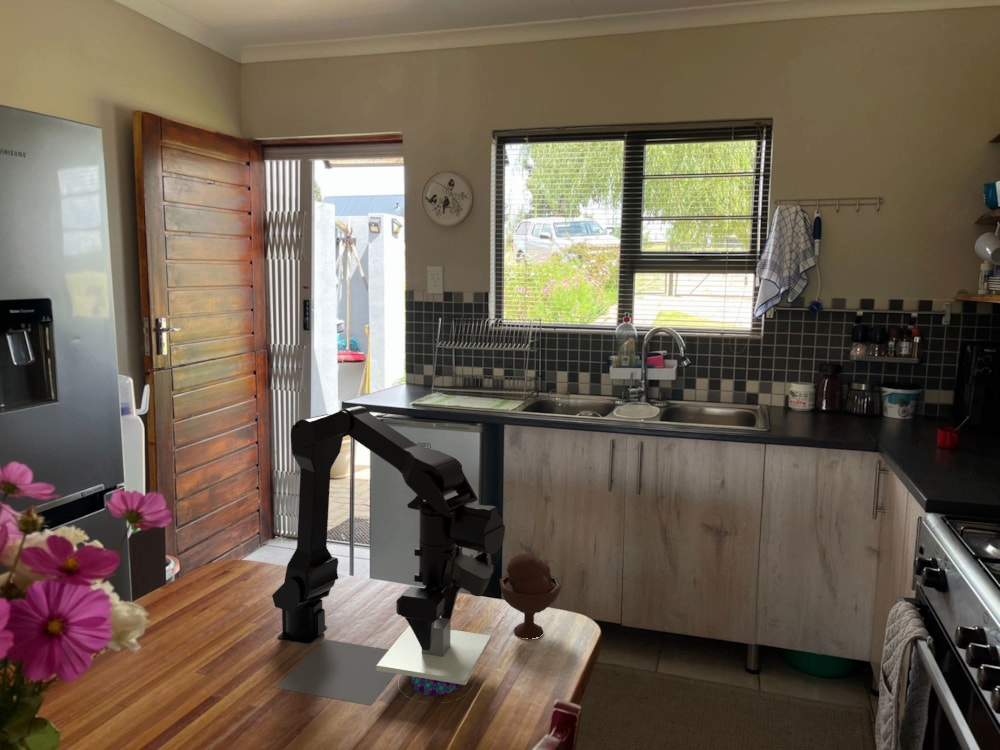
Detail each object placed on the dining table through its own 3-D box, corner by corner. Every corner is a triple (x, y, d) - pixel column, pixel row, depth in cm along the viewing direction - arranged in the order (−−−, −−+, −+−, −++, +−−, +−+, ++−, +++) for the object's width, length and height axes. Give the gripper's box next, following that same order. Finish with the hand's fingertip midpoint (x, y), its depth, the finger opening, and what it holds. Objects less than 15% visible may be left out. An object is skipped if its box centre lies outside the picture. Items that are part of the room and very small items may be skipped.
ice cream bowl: (555, 650, 130) (558, 567, 128) (492, 642, 132) (493, 560, 130) (563, 622, 140) (565, 545, 138) (504, 616, 142) (505, 539, 140)
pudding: (489, 681, 120) (489, 650, 120) (443, 717, 110) (444, 684, 110) (429, 659, 127) (429, 629, 126) (381, 691, 117) (381, 659, 116)
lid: (376, 670, 113) (376, 637, 112) (410, 628, 126) (410, 598, 126) (465, 685, 109) (466, 650, 109) (491, 640, 123) (491, 609, 122)
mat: (275, 690, 116) (275, 687, 116) (325, 641, 131) (325, 639, 131) (371, 707, 112) (371, 705, 112) (411, 655, 127) (411, 653, 127)
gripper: (469, 569, 104) (468, 674, 106) (504, 525, 122) (502, 617, 124) (395, 559, 107) (394, 662, 109) (439, 518, 125) (438, 607, 127)
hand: (436, 635), depth 117 cm, fingers open, 9 cm apart
